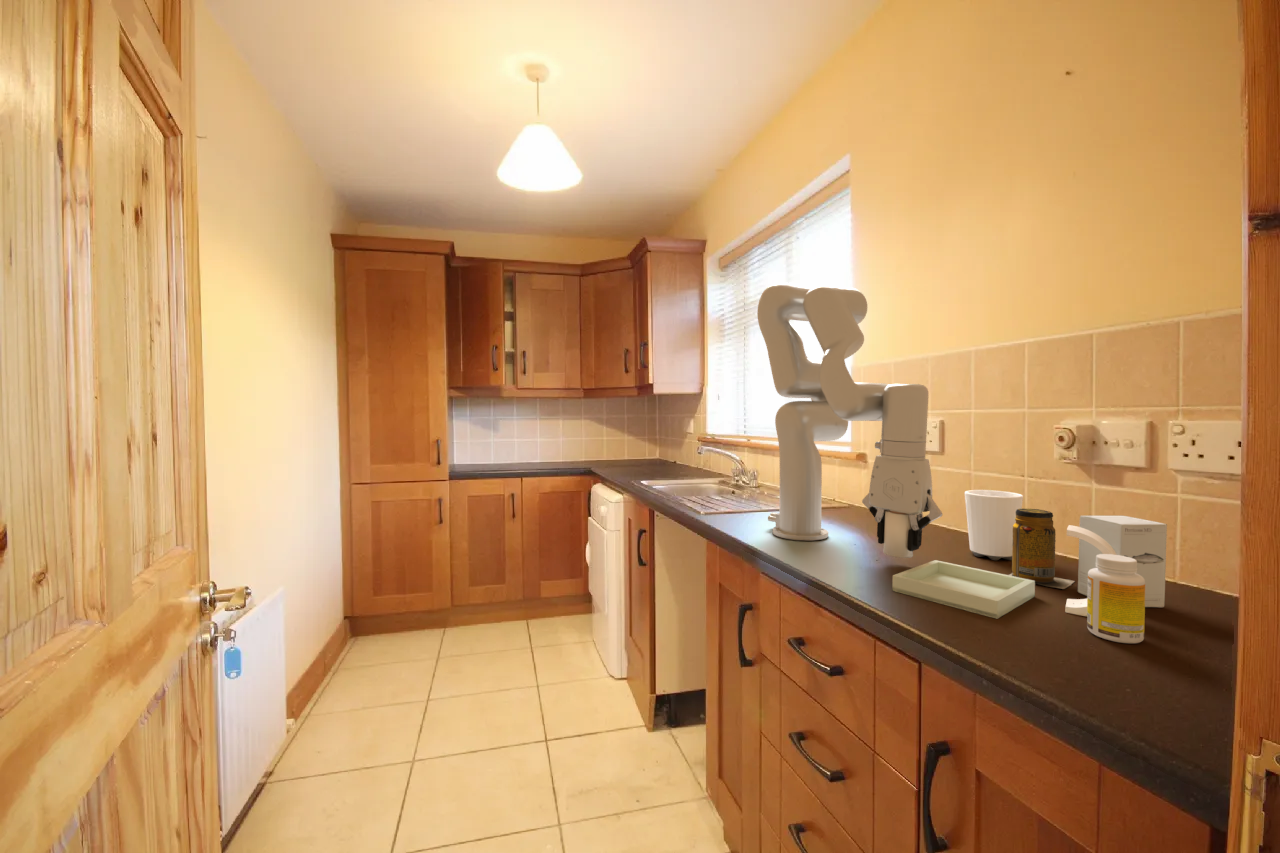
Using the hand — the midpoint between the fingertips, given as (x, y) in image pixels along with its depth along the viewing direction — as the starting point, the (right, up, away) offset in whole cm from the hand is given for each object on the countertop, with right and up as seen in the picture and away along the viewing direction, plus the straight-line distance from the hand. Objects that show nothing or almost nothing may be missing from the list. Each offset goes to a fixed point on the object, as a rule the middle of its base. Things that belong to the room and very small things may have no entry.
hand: (898, 545), depth 101 cm
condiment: (+20, -4, -9) cm, 22 cm away
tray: (+3, -4, -16) cm, 16 cm away
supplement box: (+25, -5, -19) cm, 32 cm away
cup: (+22, -4, +7) cm, 24 cm away
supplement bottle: (+13, -5, -32) cm, 35 cm away
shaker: (0, -2, 0) cm, 2 cm away
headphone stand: (+17, -5, -24) cm, 29 cm away
